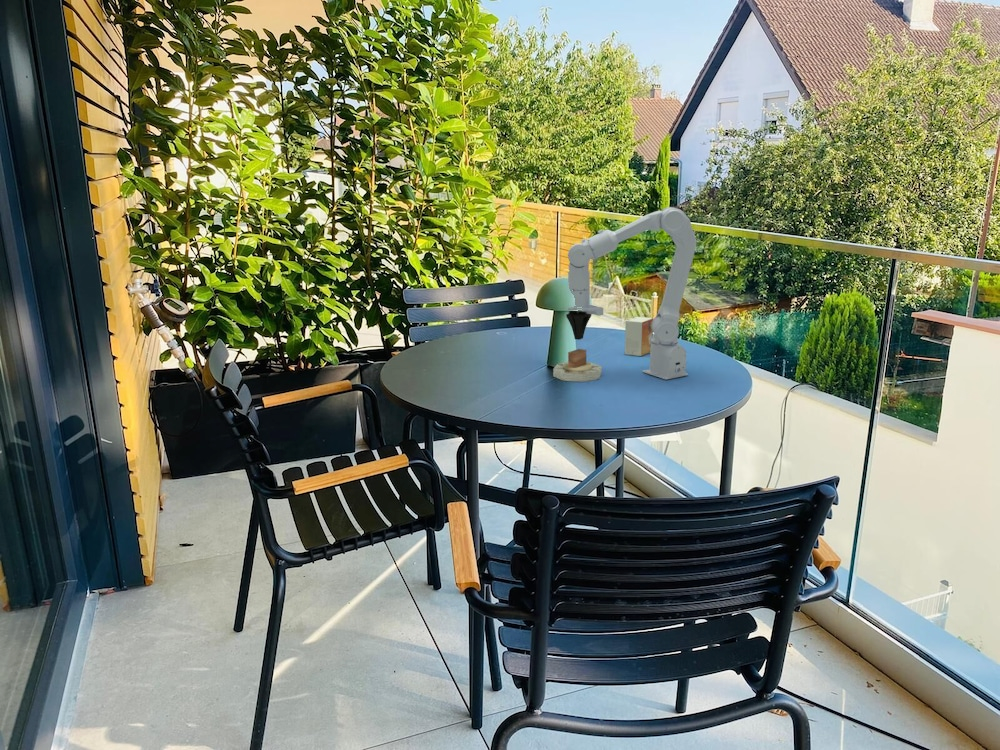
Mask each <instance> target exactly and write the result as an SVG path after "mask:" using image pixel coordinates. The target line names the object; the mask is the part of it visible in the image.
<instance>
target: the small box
mask: <svg viewBox="0 0 1000 750" xmlns="http://www.w3.org/2000/svg"><path fill="white" fill-rule="evenodd" d="M653 319H654V318H653V317H645V316H636V317H633V318H631V319H627V320H625V325H624V326H625V327H624V328H625V331H624V333H625V335H624V339H625V340H624V354H625V355H628V356H638V357H642V356H644V355H647V354H649V353H650V348H651V339H652V338H653V336H654V332H653V331H652V328H651V324H652V321H653Z"/></svg>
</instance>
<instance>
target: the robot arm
mask: <svg viewBox="0 0 1000 750" xmlns="http://www.w3.org/2000/svg"><path fill="white" fill-rule="evenodd" d="M661 230H662V231H663V232H665V233H666V234H667V235H669V237H670V238H671V240H672V242H673V243H674V244H675V247H676V248H675V251H674V255H673V259H672V263H671V266H670V270H669V273H668V277H667V278H668V279H667V281H666V286H665V290H664V293H663V298H662V301H661V304H660V306H659V308H658V312H657V314H656V315H655V317H654V318H653V321H652V324H651V328H652V331H653V338H652V339H651V348H650V352H649V353H650V355H649V356H650V357H649V368H648V369H644V370H642V373H645V374H648V375H651V376H653V377H657V378H660V379H663V380H666V381H667V380H671V379H676V378H681V377H686V376H688V372H686V371H687V370H686V369H687V350H686V349H685V348H684V346H681V344H680V343H679V339H678V337H679V334H680V329H679V325H678V324H679V319H680V308H681V305H682V301H683V297H684V294H685V290H686V286H687V281H688V278H689V274H690V270H691V267H692V264H693V259H694V256H695V253H696V248H697V244H698V243H697V241H698V240H697V238H696V236H695V233H694V230H693V227H692V223H691V219H690V218H689V217H688V216H687V214H686V213H685V212H684V211H683V210H681V209H680V208H676V207H674V206H667V207H664V208H663V209H661V210H655V211H653V212H650V213H648V214H645V215H643V216H642V217H639V218H638V219H636V220H634V221H632V222H630V223H628V224H626V225H624V226H622V227H620V228H618V229H617V230H614V231H613V230H610V229H600V230H598V231H597V234H595V235H593V236H590V237H589V238H587V239H585V238H582V239H581V240H580V242H581V243H580V242H578V243H575V244H573V245H571V246H570V248H569V249H568V253H567V258H568V261H569V262H568V263H569V264H568V272H567V274H568V275H567V276H568V279H567V280H568V281H567V285H569V289H570V291H571V293H572V294H573V295H574V298H575V305H576V306H574V307H568V310H577V309H582V310H578V311H568V313H567V314H565V315H566V319H567V320H568V322H569V324H570V327H571V330H572V332H573V336H574V340H577V341H580V340H582V339H584V334H585V331H586V328H587V326H588V323H589V321H590V319H591V317H592V315H595V316H598V317H599V316H603V315H604V307H602V306H598V305H593V304H592V305H591V303H590V299H591V298H590V296H591V295H590V292H591V290H590V288H591V287H590V285H591V283H590V282H591V281H590V280H591V279H590V277H591V275H590V273H591V272H590V270H589V266H590V264H589V263H590V261H591V260H597V259H598V258H601V257H603V256H605V255H608V254H609V253H612V252H613V251H616V250H617V248H618V246H619V243H621V242H624V241H626V240H628V239H630V238H634V236H636V235H639V234H642V233H644V232H646V231H656V232H660V231H661ZM568 283H569V284H568ZM572 290H573V291H572ZM577 307H582V308H577Z"/></svg>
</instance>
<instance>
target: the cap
mask: <svg viewBox="0 0 1000 750" xmlns="http://www.w3.org/2000/svg"><path fill="white" fill-rule="evenodd" d="M567 359H568V361H567V362H568V363H566V362H564V363H565V364H564V365H563V368H564V369H565V370H569V371H586V370H590V369H591V368H592V365H591V364H590V363H586V362H587V349H583V348H578V349H575V350H571V351H568V357H567Z"/></svg>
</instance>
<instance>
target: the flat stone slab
mask: <svg viewBox="0 0 1000 750" xmlns="http://www.w3.org/2000/svg"><path fill="white" fill-rule="evenodd" d="M565 363H568V361H567V362H562V363H557V364H556V365H555V366H554V367H553V369H552V370H553V372H552V373H553V374H552V375H553V378H556V379H558V380H561V381H564V382H580V383H584V382H590V381H594V380H599V379H600V378H601V375H602V370H603V369H602V365H599V364H597V363H593V362H591V361H586V363H590V364H591V365H592V368H591V369H590V370H586V371H569V370H565V369H564V368H563V365H564V364H565Z"/></svg>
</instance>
